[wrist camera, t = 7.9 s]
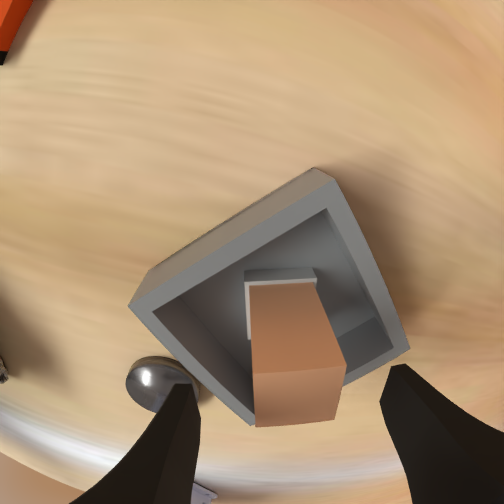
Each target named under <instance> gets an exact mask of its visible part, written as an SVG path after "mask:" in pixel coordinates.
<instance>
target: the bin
mask: <svg viewBox="0 0 504 504" xmlns="http://www.w3.org/2000/svg"><path fill="white" fill-rule="evenodd" d="M308 267H312V269H313V271H314V273H315V275H316V277H317V284H316V291H317V294H318V296H319V298H320V301H321V303H322V306H323V308H324V310H325V313H326V315H327V318H328V320H329V322H330V325H331V327H332V330H333V332H334V335H335V337H336V339H337V342H338V344H339V347H340V349H341V352H342V354H343V357H344V359H345V362H346V365H347V367H346V372H345V376H344V381H343V385H342V387H343V386H345V385H347V384H349V383H351V382H353V381H354V380H356V379H358V378H360V377H362V376H364V375H366V374H368V373H370V372H371V371H373V370H375V369H377V368H379V367H380V366H382V365H384V364H386V363H387V362H389V361H391V360H392V359H394V358H396V357H398V356H399V355H401V354H403V353H404V352H406V351H407V350H409V349H410V346H409V344H408V341H407V338H406V335H405V333H404V330H403V327H402V325H401V322H400V319H399V317H398V314H397V312H396V309H395V306H394V304H393V301H392V299H391V296H390V294H389V292H388V289H387V287H386V284H385V282H384V280H383V277H382V275H381V273H380V270H379V268H378V266H377V264H376V261H375V259H374V257H373V255H372V253H371V250H370V248H369V246H368V244H367V242H366V240H365V237H364V235H363V233H362V231H361V229H360V227H359V225H358V223H357V221H356V219H355V217H354V215H353V213H352V211H351V209H350V207H349V205H348V203H347V201H346V199H345V197H344V195H343V193H342V191H341V189H340V188H339V186H338V184H337V182H336V180H335V179H334V178H333V177H331V176H329V175H327V174H325V173H323V172H322V171H320V170H318V169H316V168H314V167H313V168H311V169H309V170H308V171H306V172H304V173H303V174H301V175H299V176H298V177H296V178H294V179H293V180H291V181H289V182H287V183H286V184H284V185H282V186H281V187H279V188H278V189H276V190H274V191H273V192H271V193H269V194H268V195H266V196H264V197H263V198H261V199H259V200H258V201H256V202H255V203H253V204H251V205H250V206H248V207H246V208H245V209H243V210H242V211H240V212H238V213H237V214H235V215H234V216H232V217H230V218H229V219H227V220H226V221H224V222H223V223H221V224H219V225H218V226H216V227H215V228H213V229H211V230H210V231H208V232H207V233H205V234H204V235H202V236H201V237H199V238H197V239H196V240H194V241H193V242H191V243H190V244H188V245H187V246H185V247H184V248H182V249H181V250H179V251H177V252H176V253H174V254H173V255H171V256H170V257H168V258H167V259H165V260H164V261H162V262H161V263H159V264H158V265H156V266H155V267H153V268H152V269H150V270H149V271H148V273H147V274H146V276H145V277H144V279H143V281H142V282H141V284H140V286H139V287H138V289H137V291H136V292H135V294H134V296H133V298H132V299H131V301H130V303H129V304H128V307H129V308H130V309H131V311H132V312H133V313H134V314H135V315H136V316H137V317H138V318H139V320H140V321H141V322H142V323H143V324H144V325H145V326H146V327H147V328H148V329H149V331H150V332H151V333H152V334H153V335H154V336H155V337H156V338H157V339H158V340H159V341H160V342H161V343H162V344H163V345H164V346H165V348H166V349H167V350H168V351H169V352H170V353H171V354H172V355H173V356H174V357H175V358H176V359H177V360H178V361H179V362H180V363H181V364H182V365H183V366H184V367H185V368H186V369H187V370H188V371H189V372H190V373H191V374H193V375H194V376H195V377H196V378H197V379H198V380H199V381H200V382H201V383H202V384H203V385H204V386H205V387H206V388H207V389H208V390H210V391H211V392H212V393H213V394H214V395H215V396H216V397H217V398H218V399H220V400H221V401H222V402H223V403H224V404H225V405H226V406H227V407H229V408H230V409H231V410H232V411H233V412H234V413H236V414H237V415H238V416H239V417H240V418H241V419H243V420H244V421H245V422H246V423H247V424H249V425H250V426H251V425H254V424H255V408H254V390H253V371H252V348H251V339H250V340H248V336H247V319H246V301H245V284H244V271H248V270H269V269H289V268H308Z"/></svg>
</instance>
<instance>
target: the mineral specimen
mask: <svg viewBox="0 0 504 504" xmlns="http://www.w3.org/2000/svg"><path fill="white" fill-rule="evenodd" d="M7 380H8V372H7V369H6V368H5V367H4V365H3V361H2V359H1V357H0V384H1V383H4V382H6V381H7Z"/></svg>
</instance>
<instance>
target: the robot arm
mask: <svg viewBox="0 0 504 504" xmlns="http://www.w3.org/2000/svg"><path fill="white" fill-rule="evenodd" d="M379 402H380V406H381V410H382V413H383V417H384V420H385V424H386V426H387V429H388V431H389V434H390V436H391V438H392V441H393V443H394V446H395V448H396V450H397V453H398V455H399V458H400V460H401V462H402V465H403V467H404V470H405V473H406V477H407V480H408V485H409V489H410V493H411V498H412V503H413V504H504V432H501V431H499V430H497V429H495V428H493V427H491V426H489V425H487V424H485V423H483V422H482V421H480V420H478V419H476V418H475V417H473V416H471V415H470V414H468V413H467V412H465V411H464V410H463V409H461V408H460V407H458V406H457V405H455V404H454V403H453V402H451V401H450V400H449V399H448V398H446V397H445V396H444V395H442V394H441V393H440V392H439V391H438V390H436V389H435V388H434V387H433V386H432V385H430V384H429V383H428V382H427V381H426V380H424V379H423V378H422V377H421V376H420V375H419V374H417V373H416V372H415V371H414V370H413V369H411V368H410V367H409V366H408V365H406V364H400V365H395V366H391V369H390V372H389V375H388V378H387V381H386V384H385V387H384V390H383V393H382V396H381V399H380V401H379ZM200 429H201V417H200V413H199V409H198V405H197V401H196V397H195V393H194V389H193V385H192V384H180V383H175V384H174V385H173V386H172V388H171V390H170V392H169V393H168V395H167V397H166V399H165V400H164V402H163V404H162V405H161V407H160V409H159V410H158V412H157V413H156V415H155V416H154V418H153V419H152V421H151V422H150V424H149V425H148V427H147V428H146V430H145V431H144V432H143V434H142V435H141V436H140V438H139V439H138V440H137V442H136V443H135V444H134V445H133V447H132V448H131V449H130V450H129V452H128V453H127V454H126V455H125V456H124V457H123V458H122V460H121V461H120V462H119V463H118V464H117V465H116V466H115V467H114V468H113V469H112V470H111V471H110V472H109V473H108V474H107V475H105V476H104V477H103V478H102V479H101V480H100V481H99V482H98V483H97V484H95V485H94V486H93V487H92V488H90V489H89V490H88V491H86V492H85V493H83V494H82V495H81V496H79V497H78V498H77V499H75V500H74V501H72V502H71V503H69V504H211V499H215V498H217V494H215V493H213V492H211V491H209V490H207V489H205V488H203V487H201V486H199V485H197V484H195V483H193V482H194V476H195V470H196V464H197V457H198V451H199V445H200Z"/></svg>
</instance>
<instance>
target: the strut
mask: <svg viewBox="0 0 504 504" xmlns="http://www.w3.org/2000/svg"><path fill="white" fill-rule="evenodd" d="M244 284H245V301H246V319H247V336H248V340H250V339H251V348H252V371H253V390H254V408H255V426H256V427H270V426H284V425H295V424H305V423H313V422H321V421H329V420H334V419H335V415H336V411H337V407H338V403H339V398H340V394H341V390H342V385H343V381H344V376H345V372H346V367H347V365H346V362H345V359H344V357H343V354H342V352H341V349H340V347H339V344H338V342H337V339H336V337H335V335H334V332H333V330H332V327H331V325H330V322H329V320H328V318H327V315H326V313H325V310H324V308H323V306H322V303H321V301H320V298H319V296H318V294H317V291H316V284H317V277H316V275H315V273H314V271H313V269H312V267H308V268H289V269H269V270H248V271H244Z"/></svg>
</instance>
